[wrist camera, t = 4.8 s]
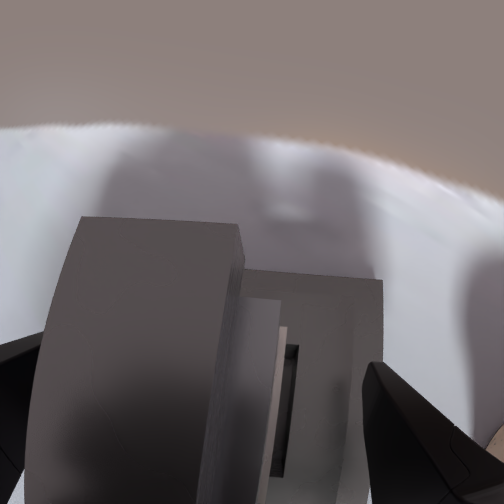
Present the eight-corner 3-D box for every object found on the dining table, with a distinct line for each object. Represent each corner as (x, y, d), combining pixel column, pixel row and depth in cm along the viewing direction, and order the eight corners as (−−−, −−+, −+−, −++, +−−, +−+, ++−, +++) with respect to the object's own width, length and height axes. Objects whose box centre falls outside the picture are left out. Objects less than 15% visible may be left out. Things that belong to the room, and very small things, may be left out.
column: (269, 456, 12) (249, 602, 2) (188, 443, 13) (-8, 496, 2) (281, 360, 15) (298, 229, 4) (202, 350, 15) (48, 215, 4)
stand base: (354, 529, 11) (389, 577, 5) (100, 487, 12) (35, 507, 7) (377, 286, 17) (416, 232, 12) (140, 265, 19) (94, 211, 13)
